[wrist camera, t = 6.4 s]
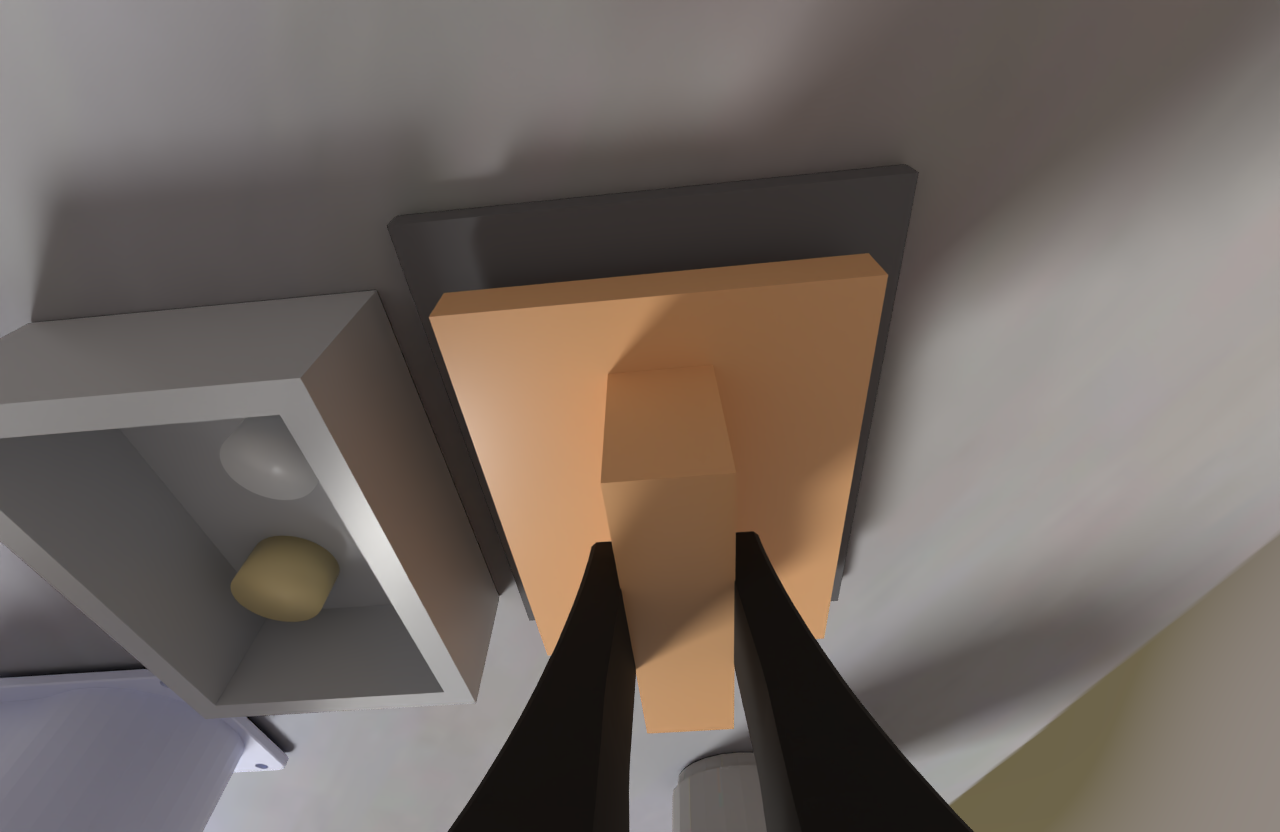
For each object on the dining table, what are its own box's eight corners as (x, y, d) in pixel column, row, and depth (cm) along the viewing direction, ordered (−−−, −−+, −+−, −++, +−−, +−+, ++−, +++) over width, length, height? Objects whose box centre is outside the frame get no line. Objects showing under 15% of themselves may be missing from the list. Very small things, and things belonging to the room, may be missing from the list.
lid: (554, 602, 18) (533, 767, 14) (454, 276, 11) (364, 418, 8) (808, 585, 18) (856, 750, 14) (855, 238, 11) (973, 368, 7)
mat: (532, 604, 19) (529, 620, 19) (397, 215, 11) (386, 225, 11) (832, 584, 19) (837, 600, 18) (906, 164, 11) (918, 172, 10)
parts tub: (267, 613, 19) (205, 718, 16) (28, 323, 13) (-144, 416, 10) (499, 597, 19) (476, 703, 16) (376, 290, 12) (300, 377, 9)
